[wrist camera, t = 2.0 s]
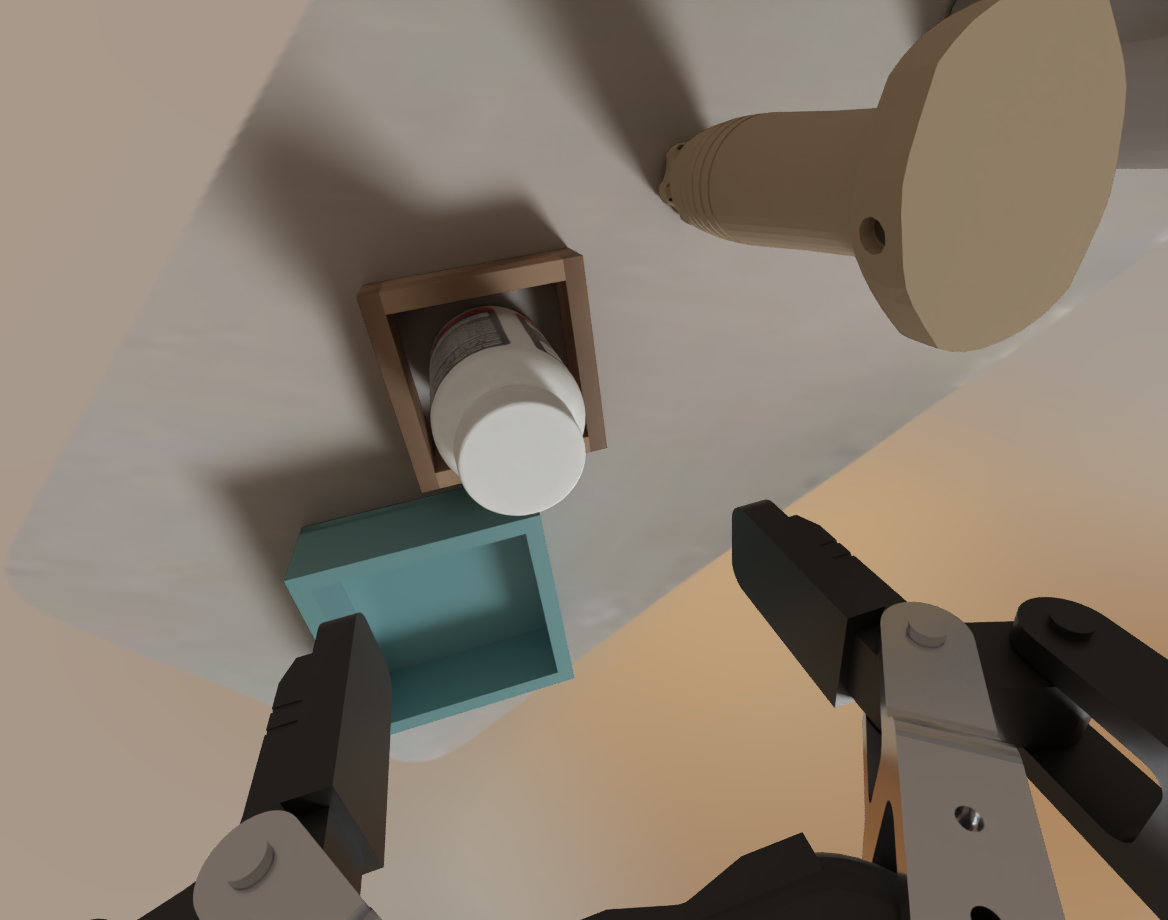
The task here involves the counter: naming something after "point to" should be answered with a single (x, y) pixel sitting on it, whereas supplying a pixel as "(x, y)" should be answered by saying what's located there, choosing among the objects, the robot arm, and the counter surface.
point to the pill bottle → (505, 411)
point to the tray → (439, 600)
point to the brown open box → (467, 284)
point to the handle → (937, 170)
